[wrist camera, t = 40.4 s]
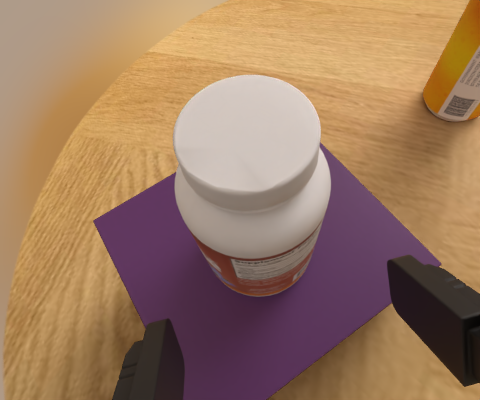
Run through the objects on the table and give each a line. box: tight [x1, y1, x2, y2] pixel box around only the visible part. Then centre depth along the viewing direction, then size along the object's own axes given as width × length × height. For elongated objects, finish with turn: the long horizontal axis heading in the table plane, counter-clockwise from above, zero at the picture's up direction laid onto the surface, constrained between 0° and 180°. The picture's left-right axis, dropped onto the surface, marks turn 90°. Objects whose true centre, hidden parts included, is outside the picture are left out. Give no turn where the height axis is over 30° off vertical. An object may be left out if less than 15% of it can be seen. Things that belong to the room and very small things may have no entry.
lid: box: [93, 143, 441, 400], centre depth 21 cm, size 14×16×1 cm
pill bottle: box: [173, 75, 331, 297], centre depth 16 cm, size 6×6×11 cm
